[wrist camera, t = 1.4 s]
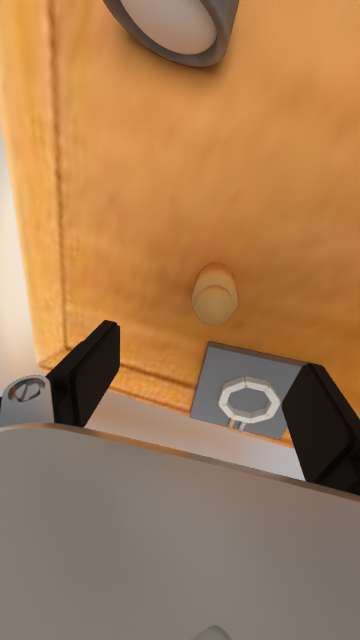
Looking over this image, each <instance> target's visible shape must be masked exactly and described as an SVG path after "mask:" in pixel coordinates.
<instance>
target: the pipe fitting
mask: <svg viewBox="0 0 360 640" xmlns="http://www.w3.org/2000/svg"><path fill="white" fill-rule="evenodd" d="M103 1H104V3H105V5H106V6H107V8H108V9H109V11H110V12H111V13H112V15H113V16H114V18H115V19H116V20H117V21H118V22H119V23H120V24H121V25H122V26H123V27H124V28H125V29H126V30H127V31H128V32H129V33H130V34H131V35H132V36H133V37H134V38H135V39H137V40H138V41H139V42H140V43H141V44H143V45H144V46H146V47H147V48H148V49H150V50H151V51H153V52H155V53H156V54H158V55H160V56H162V57H164V58H166V59H168V60H170V61H173V62H175V63H178V64H183V65H187V66H193V67H207V66H211V65H214V64H216V63H218V62H219V61H220V60H221V59H222V58H223V56H224V54H225V52H226V49H227V46H228V42H229V39H230V35H231V31H232V28H233V24H234V20H235V16H236V13H237V9H238V4H239V0H103Z"/></svg>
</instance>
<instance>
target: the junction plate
mask: <svg viewBox="0 0 360 640" xmlns="http://www.w3.org/2000/svg"><path fill="white" fill-rule="evenodd" d="M306 364H308V363H306V362H301V361H297V360H292V359H288V358H283V357H279V356H274V355H269V354H265V353H260V352H256V351H251V350H247V349H242V348H238V347H233V346H228V345H224V344H219V343H215V342H210V341H209V343H208V347H207V351H206V355H205V358H204V362H203V366H202V370H201V374H200V377H199V381H198V385H197V389H196V393H195V396H194V400H193V404H192V408H191V412H190V418H193V419H197V420H201V421H205V422H209V423H213V424H217V425H221V426H225V427H228V428H229V429H232V428H233V429H237V430H239V431H240V432H242V431H245V432H250V433H254V434H258V435H262V436H266V437H270V438H274V439H278V440H280V438H281V437H282V435H283V434H284V432H285V431H286V429H287V427H288V426H287V423H286V420H285V417H284V414H283V411H282V407H281V405H282V401H283V399H284V398H285V396H286V394H287V392H288V391H289V389H290V387H291V385H292V384H293V382H294V380H295V378H296V377H297V375H298V373H299V371H300V370H301V368H302V366H303V365H306Z"/></svg>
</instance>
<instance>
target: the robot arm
mask: <svg viewBox="0 0 360 640" xmlns="http://www.w3.org/2000/svg"><path fill="white" fill-rule="evenodd" d="M119 367H120V326H118V325H117V323H116V322H113V321H108V320H104V321H103V322H102V323H101V324H100V325H99V326H98V327H97V328H96V329H95V330H94V331H93V332H92V333H91V334H90V335H89V336H88V337H87V338H86V339H85V340H84V341H82V342H80V343H79V344H78V345H77V346H76V347H75V348H74V349H73V350H72V351H71V352H70V353H69V354H68V355H67V356H66V357H65V358H64V359H63V360H62V361H61V362H60V363H59V364H58V365H57V366H56V367H55V368H54V369H52V370H51V371H50V372H49V373H48V374H47V375H46V376H45V377H44V376H41V375H31V376H26V377H23V378H20V379H18V380H16V381H14V382H13V383H11V384H10V385H9V386H8V387H7V388H6V389H5V391H4V392H3V395H2V397H0V640H360V419H359V418H358V416H357V415H356V413H355V412H354V410H353V409H352V407H351V406H350V405H349V403H348V402H347V400H346V399H345V397H344V396H343V394H342V393H341V391H340V390H339V388H338V387H337V386H336V384H335V383H334V381H333V380H332V378H331V377H330V375H329V374H328V372H327V371H326V369H325V368H324V367H323V366H322V365H317V364H313V363H308V364H306V365H303V366H302V368H301V370H300V371H299V373H298V375H297V377H296V378H295V380H294V382H293V384H292V385H291V387H290V389H289V391H288V392H287V394H286V396H285V398H284V399H283V401H282V405H281V407H282V411H283V414H284V417H285V420H286V423H287V426H288V429H289V432H290V435H291V438H292V441H293V444H294V447H295V450H296V453H297V456H298V459H299V462H300V466H301V468H302V472H303V475H304V477H305V480H306V481H302V480H298V479H294V478H290V477H286V476H282V475H278V474H274V473H269V472H266V471H262V470H258V469H254V468H250V467H246V466H242V465H238V464H234V463H230V462H226V461H221V460H218V459H214V458H210V457H206V456H201V455H197V454H193V453H189V452H185V451H181V450H177V449H172V448H168V447H164V446H160V445H156V444H152V443H148V442H143V441H139V440H135V439H131V438H127V437H122V436H118V435H114V434H109V433H105V432H100V431H96V430H91V429H86V428H84V427H85V425H86V424H87V422H88V420H89V419H90V417H91V415H92V414H93V412H94V410H95V409H96V407H97V405H98V404H99V402H100V401H101V399H102V397H103V396H104V393H105V392H106V391H107V389H108V387H109V386H110V384H111V382H112V381H113V379H114V377H115V376H116V374H117V372H118V370H119Z"/></svg>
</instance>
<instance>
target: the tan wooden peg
mask: <svg viewBox="0 0 360 640" xmlns="http://www.w3.org/2000/svg"><path fill="white" fill-rule="evenodd" d="M191 301H192V307H193V309H194V311H195V313H196V314H197V316H198V318H199V319H200V320H201V321H203V322H204V323H206V324H209V325H219V324H222V323H224V322H226V321H227V320H228V319H229V318H230V317H231V315H232V314H233V313H234V312H235V310H236V308H237V305H238V296H237V291H236V286H235V281H234V276H233V273H232V271H231V270H230V269H229V268H228V267H227V266H225V265H223V264H220V263H212V264H209V265H207V266H205V267H204V268H203V269H202V270H201V272H200V273H199V276H198V279H197V282H196V285H195V288H194V291H193V294H192V300H191Z"/></svg>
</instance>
